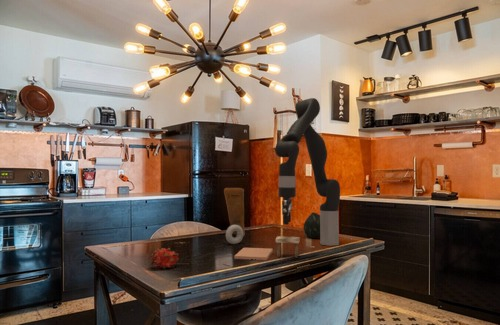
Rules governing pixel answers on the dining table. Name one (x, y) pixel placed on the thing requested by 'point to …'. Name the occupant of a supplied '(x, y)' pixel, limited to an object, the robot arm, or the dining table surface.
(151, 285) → the dining table surface
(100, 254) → the dining table surface
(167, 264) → the dragon fruit
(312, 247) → the dining table surface
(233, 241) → the donut
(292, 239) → the stool
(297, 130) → the robot arm
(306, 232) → the squash
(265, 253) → the mat
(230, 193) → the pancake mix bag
